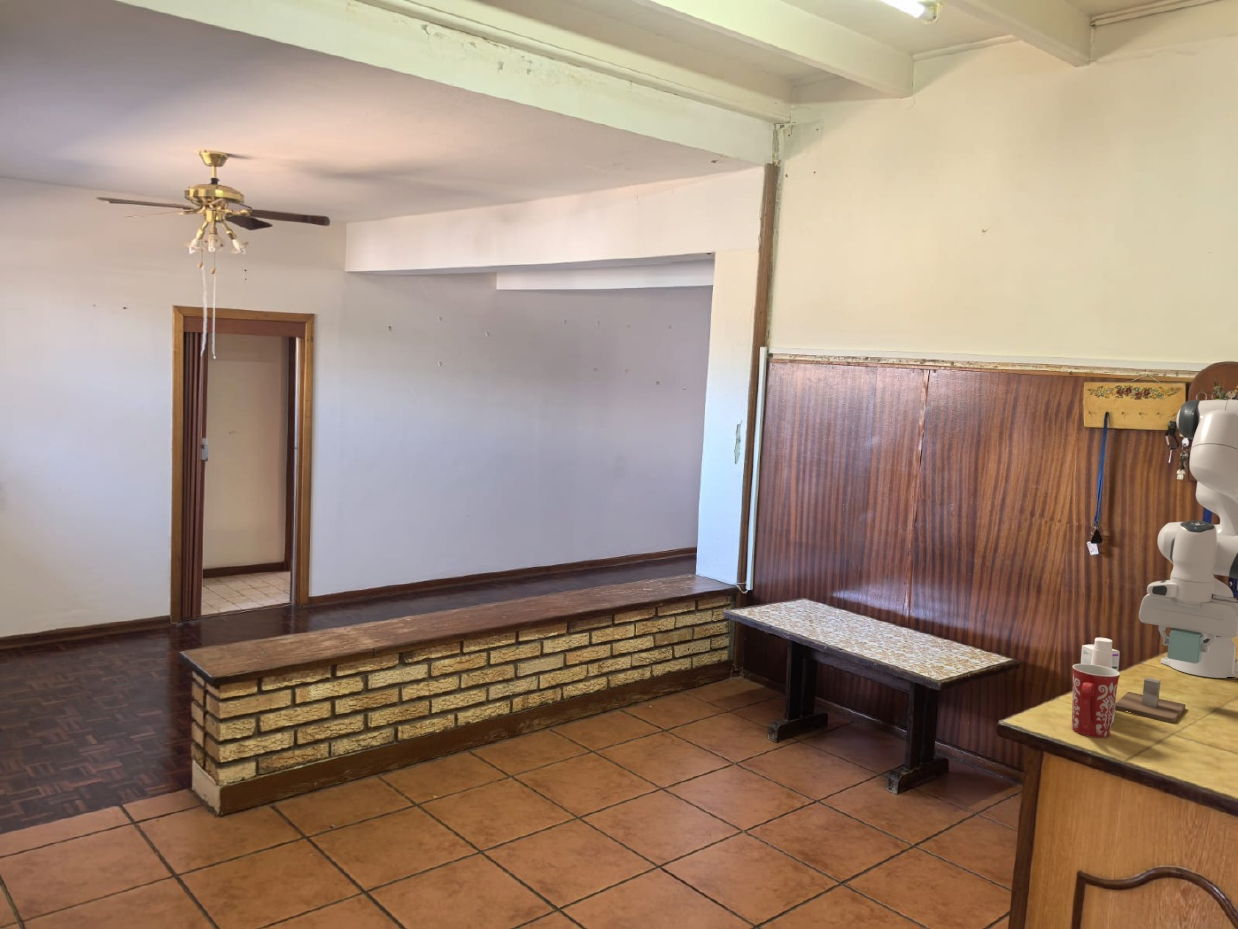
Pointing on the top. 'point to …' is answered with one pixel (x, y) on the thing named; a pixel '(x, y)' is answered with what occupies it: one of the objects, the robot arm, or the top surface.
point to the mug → (1093, 699)
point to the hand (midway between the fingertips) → (1185, 648)
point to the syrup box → (1087, 656)
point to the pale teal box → (1185, 645)
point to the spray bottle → (1103, 656)
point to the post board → (1150, 712)
